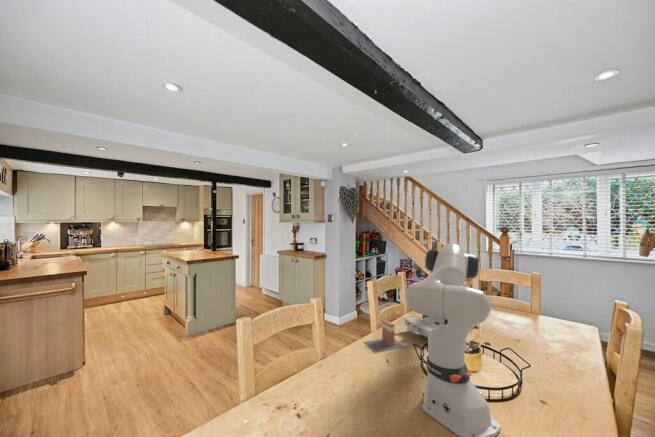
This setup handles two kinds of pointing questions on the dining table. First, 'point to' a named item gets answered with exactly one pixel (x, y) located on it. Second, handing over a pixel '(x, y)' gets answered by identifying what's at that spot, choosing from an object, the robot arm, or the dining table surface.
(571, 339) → the dining table surface
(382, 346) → the mat
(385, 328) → the card box
